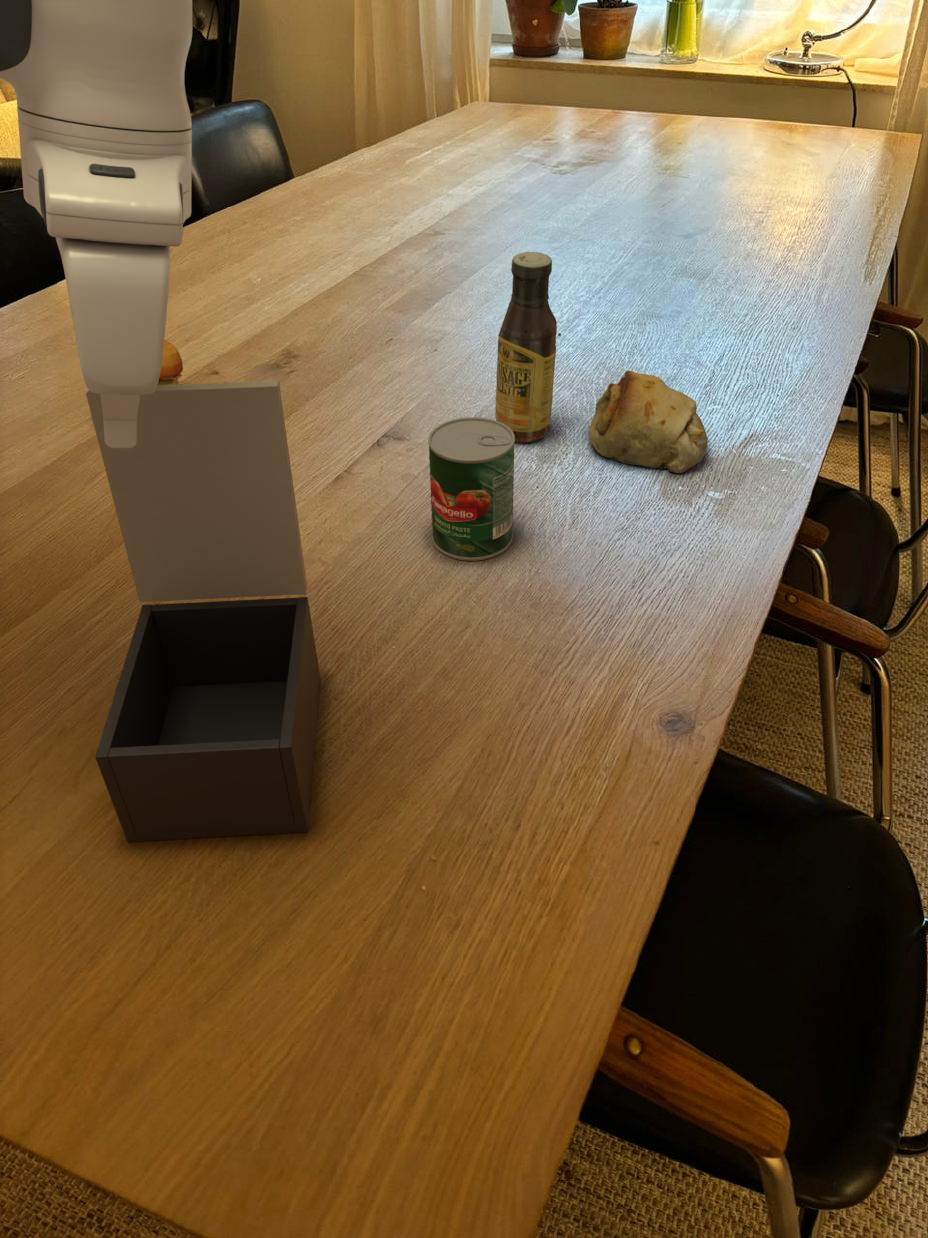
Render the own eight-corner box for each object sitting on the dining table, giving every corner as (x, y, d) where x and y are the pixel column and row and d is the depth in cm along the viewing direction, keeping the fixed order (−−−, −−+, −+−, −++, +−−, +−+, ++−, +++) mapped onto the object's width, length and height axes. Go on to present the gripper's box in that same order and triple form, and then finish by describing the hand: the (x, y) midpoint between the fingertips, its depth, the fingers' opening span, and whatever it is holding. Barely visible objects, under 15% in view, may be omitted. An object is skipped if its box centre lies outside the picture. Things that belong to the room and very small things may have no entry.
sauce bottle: (484, 430, 113) (483, 255, 100) (524, 412, 116) (528, 240, 103) (523, 452, 109) (527, 273, 96) (564, 433, 112) (573, 257, 99)
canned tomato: (426, 558, 94) (420, 457, 87) (438, 512, 100) (434, 414, 93) (509, 564, 93) (510, 462, 86) (517, 517, 99) (519, 418, 92)
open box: (307, 832, 70) (291, 747, 64) (127, 842, 69) (94, 757, 64) (320, 679, 82) (307, 596, 76) (166, 687, 81) (142, 604, 76)
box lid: (277, 385, 66) (279, 380, 67) (85, 393, 65) (89, 388, 66) (306, 594, 75) (307, 587, 76) (139, 602, 75) (141, 595, 76)
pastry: (565, 427, 113) (569, 361, 108) (662, 406, 116) (670, 341, 111) (624, 489, 103) (631, 420, 98) (728, 464, 106) (740, 396, 101)
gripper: (48, 139, 62) (61, 357, 69) (44, 206, 46) (63, 482, 53) (154, 150, 64) (156, 361, 71) (186, 219, 48) (185, 482, 55)
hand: (116, 413), depth 62 cm, fingers open, 8 cm apart
